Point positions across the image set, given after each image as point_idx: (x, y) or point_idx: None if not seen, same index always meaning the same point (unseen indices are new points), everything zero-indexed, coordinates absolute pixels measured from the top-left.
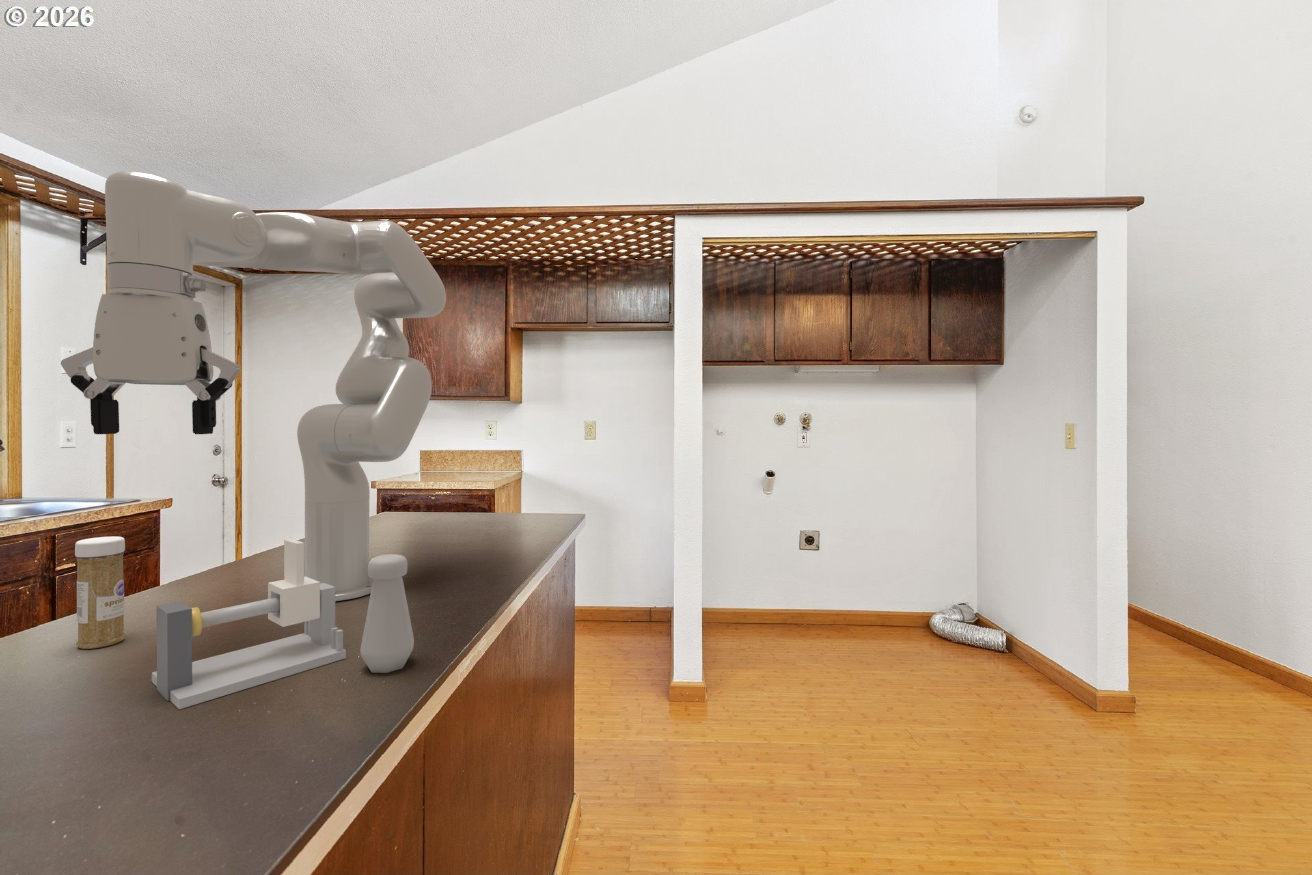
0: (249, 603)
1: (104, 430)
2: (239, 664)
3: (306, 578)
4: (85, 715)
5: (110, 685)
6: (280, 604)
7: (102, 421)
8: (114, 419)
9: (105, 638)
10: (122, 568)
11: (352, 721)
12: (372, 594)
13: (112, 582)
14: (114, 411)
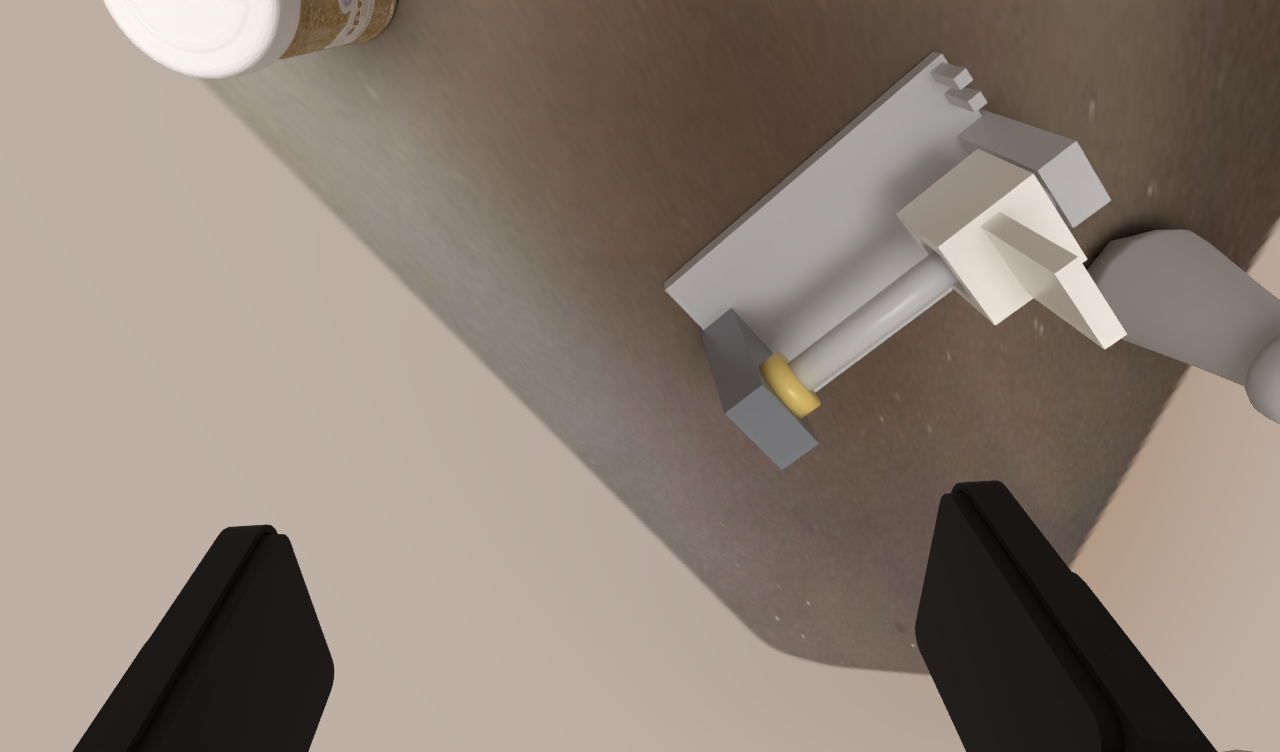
0: (897, 317)
1: (320, 668)
2: (830, 271)
3: (1044, 209)
4: (636, 404)
5: (590, 288)
6: (964, 294)
7: (300, 745)
8: (252, 659)
9: (378, 25)
10: None
11: (1059, 472)
12: (1216, 364)
13: (333, 17)
14: (215, 727)
